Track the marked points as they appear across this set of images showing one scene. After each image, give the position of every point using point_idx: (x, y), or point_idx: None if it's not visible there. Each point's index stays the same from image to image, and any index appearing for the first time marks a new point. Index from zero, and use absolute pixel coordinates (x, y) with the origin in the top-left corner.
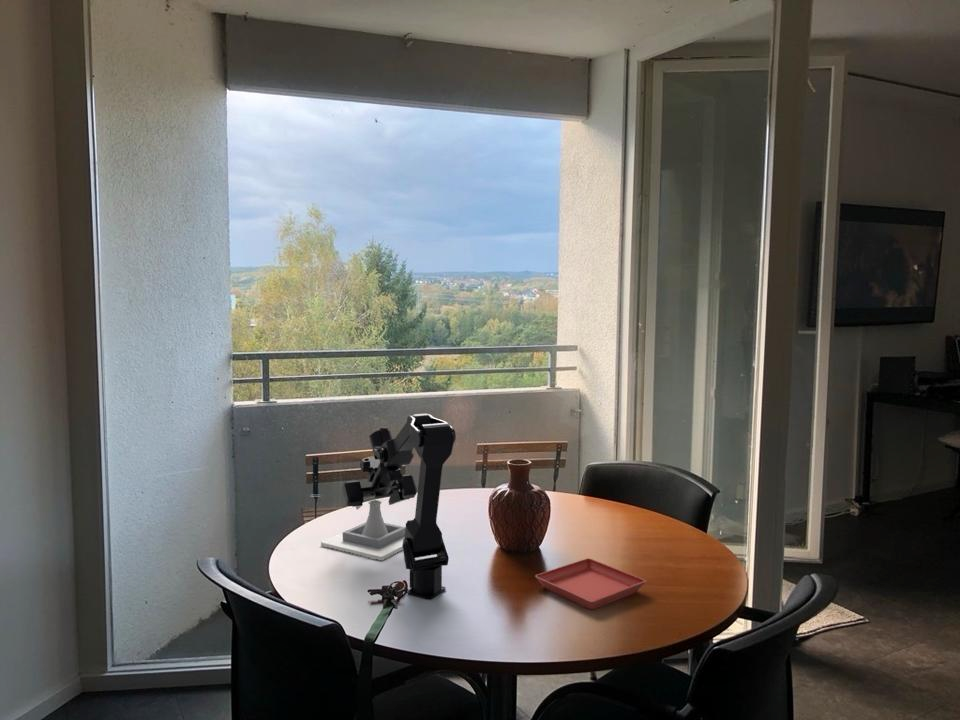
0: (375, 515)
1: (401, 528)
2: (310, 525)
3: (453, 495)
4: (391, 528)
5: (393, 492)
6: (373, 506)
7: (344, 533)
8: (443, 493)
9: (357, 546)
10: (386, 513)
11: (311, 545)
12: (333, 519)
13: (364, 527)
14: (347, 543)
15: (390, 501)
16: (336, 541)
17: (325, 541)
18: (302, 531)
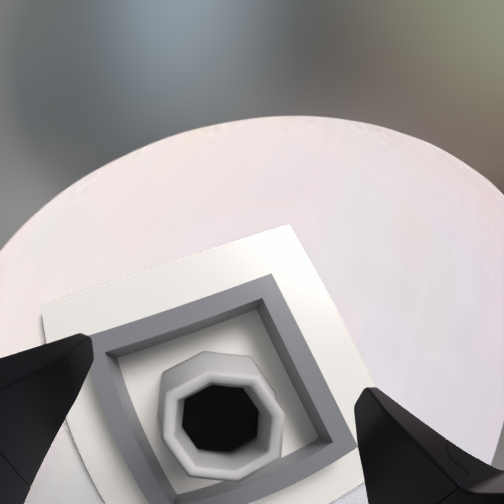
0: (203, 450)
1: (334, 452)
2: (140, 149)
3: (487, 198)
4: (309, 401)
5: (430, 487)
6: (190, 450)
7: None
8: (473, 179)
9: (107, 441)
10: (364, 187)
11: (36, 284)
12: (215, 143)
13: (169, 381)
14: (93, 386)
15: (368, 434)
16: None
17: (52, 310)
18: (96, 174)
